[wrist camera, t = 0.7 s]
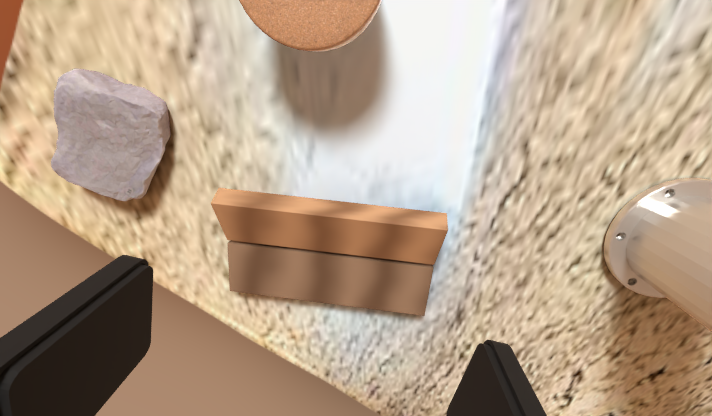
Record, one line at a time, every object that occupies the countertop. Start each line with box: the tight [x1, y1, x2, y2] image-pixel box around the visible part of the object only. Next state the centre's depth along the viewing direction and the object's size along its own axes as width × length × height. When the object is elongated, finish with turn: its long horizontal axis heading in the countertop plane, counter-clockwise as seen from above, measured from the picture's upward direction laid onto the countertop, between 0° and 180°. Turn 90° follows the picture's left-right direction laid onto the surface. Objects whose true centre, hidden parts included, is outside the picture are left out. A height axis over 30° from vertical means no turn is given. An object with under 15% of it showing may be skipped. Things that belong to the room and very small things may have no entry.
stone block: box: [51, 69, 171, 201], centre depth 34 cm, size 12×5×10 cm
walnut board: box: [228, 240, 433, 316], centre depth 38 cm, size 22×6×2 cm, turn 85°
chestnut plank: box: [211, 188, 448, 265], centre depth 34 cm, size 22×6×2 cm, turn 85°
